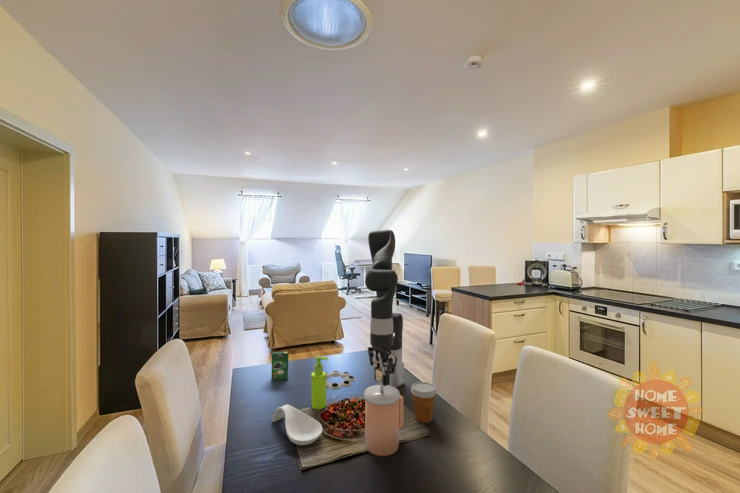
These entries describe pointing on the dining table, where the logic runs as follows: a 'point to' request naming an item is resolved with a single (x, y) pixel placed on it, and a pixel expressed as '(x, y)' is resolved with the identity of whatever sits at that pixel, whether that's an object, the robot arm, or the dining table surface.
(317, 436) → the spoon rest
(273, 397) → the dining table surface
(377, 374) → the plunger
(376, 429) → the press pot
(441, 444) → the dining table surface
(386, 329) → the robot arm
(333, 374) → the paint palette
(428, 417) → the disposable coffee cup
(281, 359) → the coffee box
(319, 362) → the soap dispenser
